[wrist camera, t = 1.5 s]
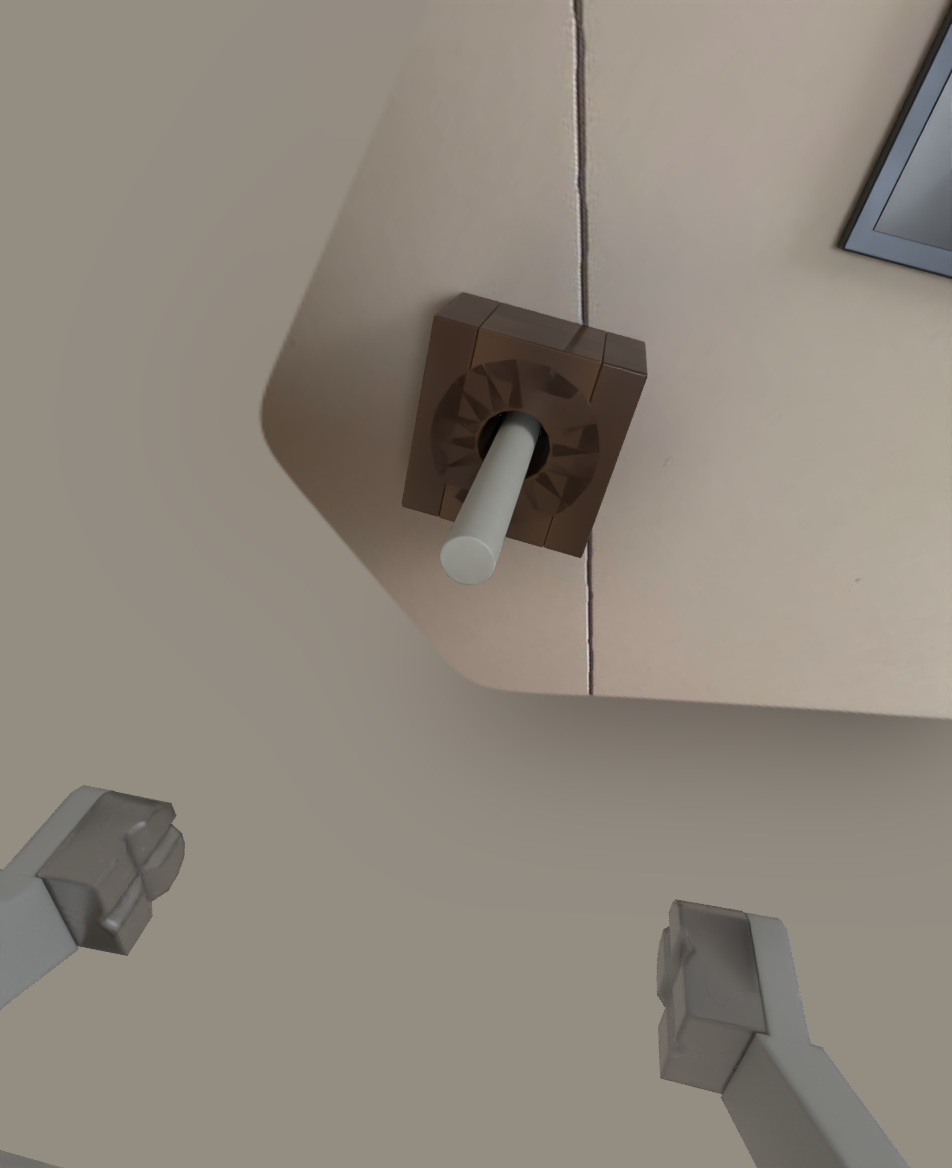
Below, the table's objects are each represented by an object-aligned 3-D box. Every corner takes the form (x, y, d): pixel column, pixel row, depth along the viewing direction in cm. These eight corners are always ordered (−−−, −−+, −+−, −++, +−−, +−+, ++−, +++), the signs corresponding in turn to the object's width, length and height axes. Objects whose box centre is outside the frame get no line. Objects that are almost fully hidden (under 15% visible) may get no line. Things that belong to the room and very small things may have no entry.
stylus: (508, 418, 31) (434, 576, 19) (516, 385, 30) (444, 529, 19) (541, 428, 31) (487, 592, 19) (551, 394, 30) (500, 545, 18)
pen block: (429, 462, 33) (400, 506, 29) (462, 291, 28) (433, 315, 24) (587, 507, 33) (581, 559, 28) (646, 342, 28) (648, 374, 24)
